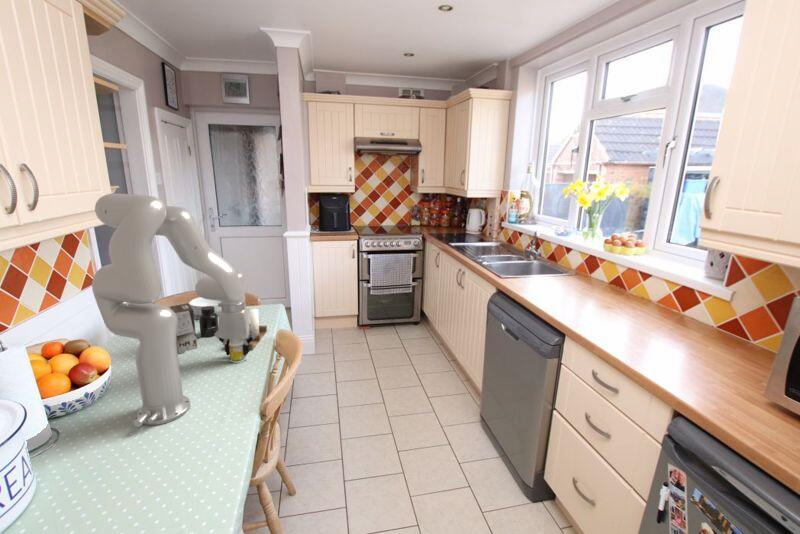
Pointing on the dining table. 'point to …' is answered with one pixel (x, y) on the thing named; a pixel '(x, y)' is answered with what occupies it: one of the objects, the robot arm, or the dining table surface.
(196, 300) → the cereal bowl
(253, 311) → the rod
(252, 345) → the rack
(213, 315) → the supplement bottle
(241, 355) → the supplement bottle
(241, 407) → the dining table surface
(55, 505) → the dining table surface
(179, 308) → the coffee box
